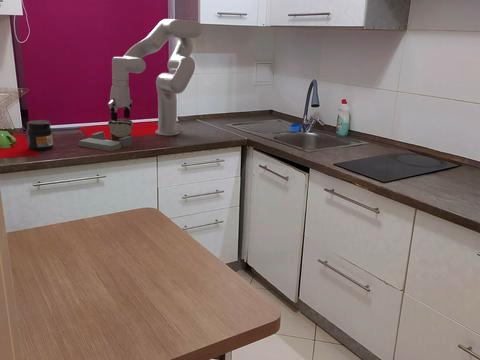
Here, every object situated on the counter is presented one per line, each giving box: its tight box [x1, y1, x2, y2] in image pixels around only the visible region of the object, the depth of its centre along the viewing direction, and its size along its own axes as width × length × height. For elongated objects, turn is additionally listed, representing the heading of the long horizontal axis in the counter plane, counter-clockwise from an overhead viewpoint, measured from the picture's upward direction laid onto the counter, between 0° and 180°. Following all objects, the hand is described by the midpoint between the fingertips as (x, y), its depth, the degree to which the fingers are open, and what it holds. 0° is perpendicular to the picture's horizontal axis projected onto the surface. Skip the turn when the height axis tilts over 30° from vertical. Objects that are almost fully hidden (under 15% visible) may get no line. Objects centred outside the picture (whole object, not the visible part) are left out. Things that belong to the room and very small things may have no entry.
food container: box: [107, 118, 134, 142], centre depth 234 cm, size 12×6×10 cm, turn 84°
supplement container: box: [26, 119, 54, 152], centre depth 213 cm, size 10×10×12 cm
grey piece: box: [78, 131, 133, 152], centre depth 224 cm, size 16×18×4 cm
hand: (120, 119), depth 232 cm, fingers open, 9 cm apart
